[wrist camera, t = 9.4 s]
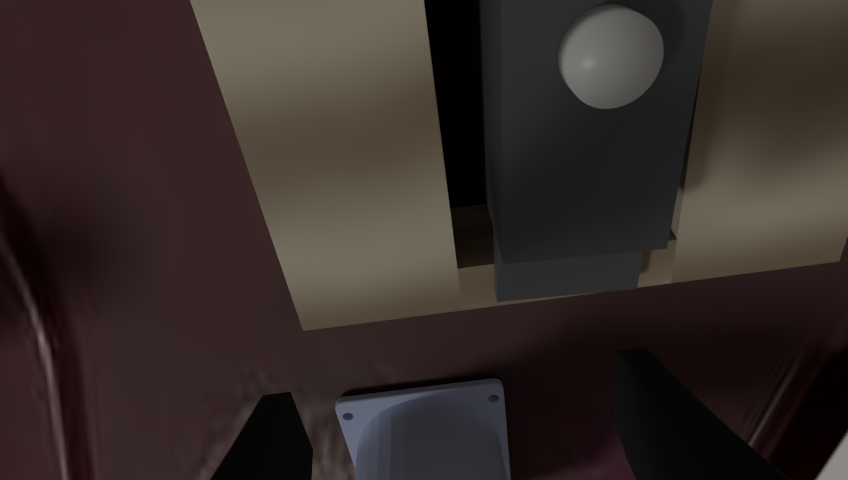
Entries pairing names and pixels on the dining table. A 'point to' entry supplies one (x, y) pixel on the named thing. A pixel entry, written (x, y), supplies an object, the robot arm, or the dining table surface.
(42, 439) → the dining table surface
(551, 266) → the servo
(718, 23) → the tan slotted block
